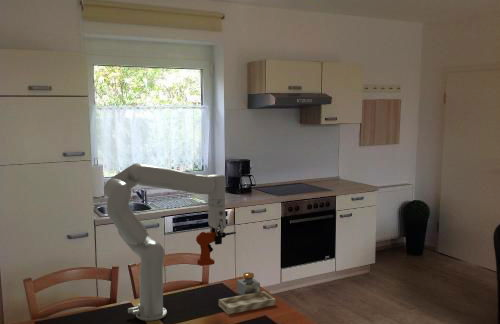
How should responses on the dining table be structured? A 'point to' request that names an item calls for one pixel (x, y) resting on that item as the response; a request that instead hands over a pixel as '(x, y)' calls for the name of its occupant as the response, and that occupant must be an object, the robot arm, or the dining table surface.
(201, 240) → the toy drill
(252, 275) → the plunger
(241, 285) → the socket block
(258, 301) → the marbled rectangular tray
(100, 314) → the dining table surface
